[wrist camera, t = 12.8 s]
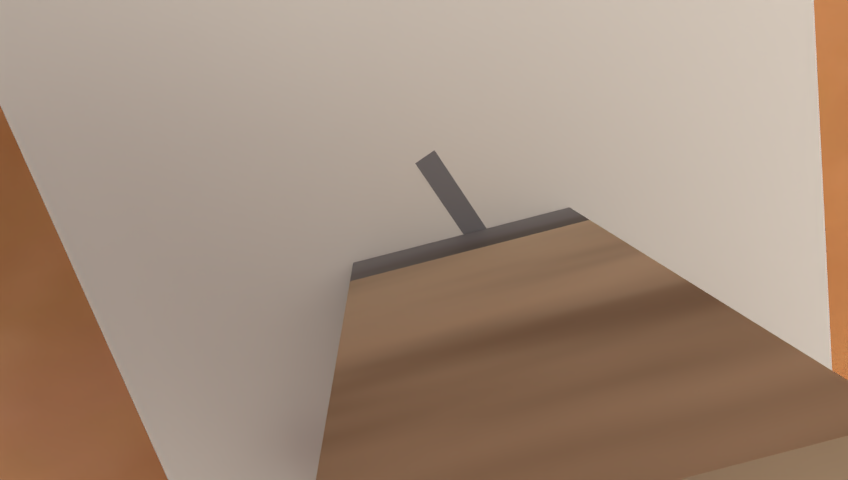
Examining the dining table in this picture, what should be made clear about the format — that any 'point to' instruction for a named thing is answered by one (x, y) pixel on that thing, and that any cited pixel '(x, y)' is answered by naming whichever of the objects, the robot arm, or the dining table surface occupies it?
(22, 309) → the dining table surface
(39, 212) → the dining table surface
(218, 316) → the board
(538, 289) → the block
